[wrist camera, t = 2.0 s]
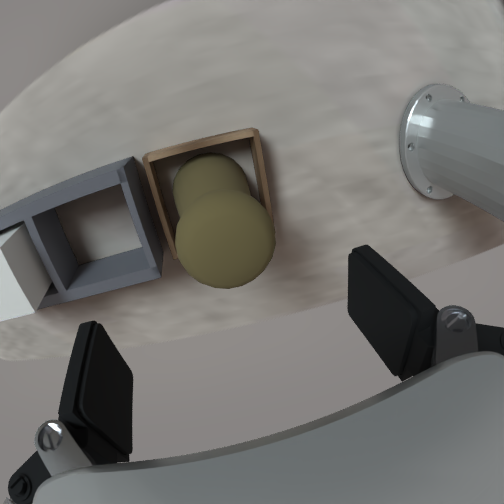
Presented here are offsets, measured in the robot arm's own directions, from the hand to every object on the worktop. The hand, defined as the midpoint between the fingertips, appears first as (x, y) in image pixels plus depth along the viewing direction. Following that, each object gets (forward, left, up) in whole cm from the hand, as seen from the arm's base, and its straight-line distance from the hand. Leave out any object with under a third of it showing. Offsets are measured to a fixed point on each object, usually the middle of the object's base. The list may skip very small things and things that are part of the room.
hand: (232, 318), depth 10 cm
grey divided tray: (+13, 0, -15) cm, 20 cm away
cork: (-1, 0, -16) cm, 15 cm away
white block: (+17, 0, -15) cm, 23 cm away
